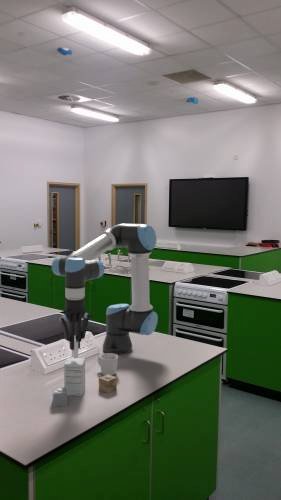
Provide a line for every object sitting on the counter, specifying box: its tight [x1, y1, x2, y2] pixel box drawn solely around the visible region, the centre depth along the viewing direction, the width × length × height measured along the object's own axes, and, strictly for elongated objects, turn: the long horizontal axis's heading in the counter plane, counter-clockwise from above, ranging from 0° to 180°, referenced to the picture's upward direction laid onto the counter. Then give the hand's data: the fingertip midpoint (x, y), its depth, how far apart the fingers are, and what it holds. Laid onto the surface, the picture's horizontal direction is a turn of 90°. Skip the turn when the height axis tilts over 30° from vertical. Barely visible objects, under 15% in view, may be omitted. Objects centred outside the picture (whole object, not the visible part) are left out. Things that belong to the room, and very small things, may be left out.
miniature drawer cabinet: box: [63, 357, 86, 397], centre depth 171 cm, size 7×7×13 cm
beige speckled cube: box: [98, 374, 118, 394], centre depth 174 cm, size 5×5×5 cm
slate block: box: [52, 386, 68, 408], centre depth 162 cm, size 5×5×5 cm
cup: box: [97, 352, 119, 376], centre depth 191 cm, size 11×8×8 cm
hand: (74, 357), depth 170 cm, fingers closed
